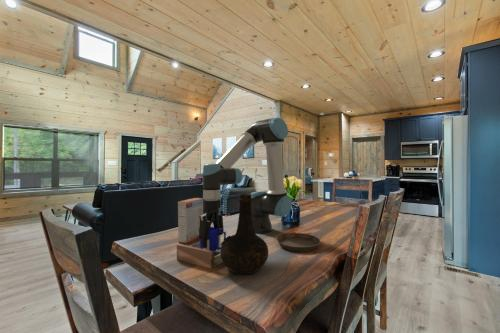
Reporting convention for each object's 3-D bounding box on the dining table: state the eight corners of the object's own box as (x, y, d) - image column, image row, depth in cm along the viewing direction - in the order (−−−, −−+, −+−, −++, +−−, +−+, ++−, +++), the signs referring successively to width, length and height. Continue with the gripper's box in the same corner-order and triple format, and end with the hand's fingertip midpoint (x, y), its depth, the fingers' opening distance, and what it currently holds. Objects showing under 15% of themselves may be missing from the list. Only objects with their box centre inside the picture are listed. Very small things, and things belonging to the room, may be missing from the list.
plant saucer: (311, 257, 102) (311, 249, 102) (269, 247, 113) (269, 240, 113) (325, 243, 119) (325, 237, 119) (287, 237, 130) (287, 231, 130)
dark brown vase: (225, 258, 99) (225, 191, 99) (269, 260, 97) (268, 191, 97) (215, 278, 81) (215, 196, 81) (267, 281, 80) (267, 197, 80)
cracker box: (195, 235, 133) (195, 197, 133) (203, 236, 130) (203, 198, 130) (177, 242, 120) (177, 200, 120) (186, 244, 118) (186, 201, 118)
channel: (203, 247, 113) (203, 234, 113) (236, 254, 104) (236, 240, 104) (176, 259, 98) (176, 244, 98) (211, 268, 89) (211, 252, 89)
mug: (222, 256, 99) (222, 232, 99) (195, 254, 102) (195, 231, 102) (228, 250, 107) (228, 227, 107) (203, 248, 110) (203, 226, 110)
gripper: (218, 196, 114) (218, 244, 114) (189, 201, 97) (189, 258, 97) (231, 197, 111) (231, 246, 111) (203, 203, 93) (203, 261, 93)
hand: (211, 252), depth 104 cm, fingers closed on mug, 7 cm apart
